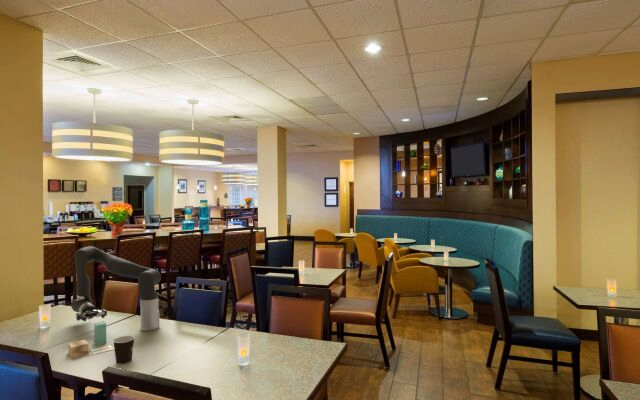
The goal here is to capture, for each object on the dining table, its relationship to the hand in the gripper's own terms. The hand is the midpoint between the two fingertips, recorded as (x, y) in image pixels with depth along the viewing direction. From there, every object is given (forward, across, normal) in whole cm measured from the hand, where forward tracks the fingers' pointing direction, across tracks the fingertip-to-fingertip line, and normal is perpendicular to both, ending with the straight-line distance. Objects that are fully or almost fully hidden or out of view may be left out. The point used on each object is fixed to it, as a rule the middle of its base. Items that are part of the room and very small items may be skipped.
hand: (94, 317), depth 203 cm
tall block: (+12, 0, +10) cm, 15 cm away
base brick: (+20, -11, +10) cm, 24 cm away
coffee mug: (+42, +4, +10) cm, 44 cm away
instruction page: (+22, -1, +10) cm, 25 cm away
